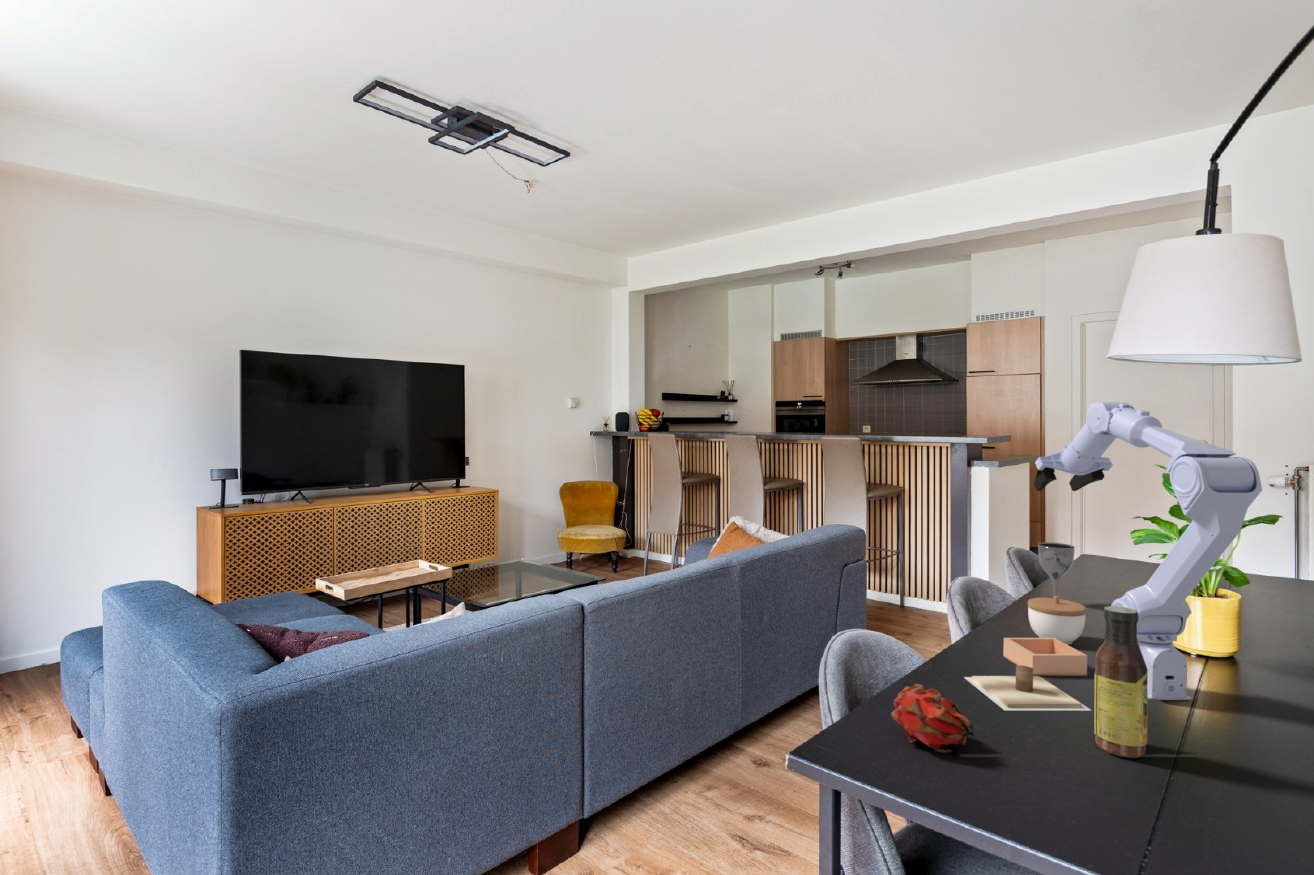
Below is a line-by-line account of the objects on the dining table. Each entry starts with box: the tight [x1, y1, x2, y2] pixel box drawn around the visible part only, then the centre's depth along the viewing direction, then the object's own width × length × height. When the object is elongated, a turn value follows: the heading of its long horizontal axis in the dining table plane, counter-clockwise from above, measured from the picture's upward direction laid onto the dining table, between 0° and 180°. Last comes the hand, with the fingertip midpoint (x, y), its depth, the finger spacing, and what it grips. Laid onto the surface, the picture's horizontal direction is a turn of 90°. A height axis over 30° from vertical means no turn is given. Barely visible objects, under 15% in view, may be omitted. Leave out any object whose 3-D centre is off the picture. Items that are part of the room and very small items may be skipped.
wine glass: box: [1037, 542, 1075, 598], centre depth 175 cm, size 8×8×15 cm
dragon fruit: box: [889, 683, 975, 753], centre depth 99 cm, size 8×8×12 cm
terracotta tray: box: [1002, 637, 1088, 677], centre depth 130 cm, size 10×10×4 cm
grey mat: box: [963, 676, 1092, 712], centre depth 116 cm, size 14×14×1 cm
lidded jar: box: [1027, 595, 1087, 646], centre depth 146 cm, size 11×11×9 cm
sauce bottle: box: [1093, 605, 1149, 759], centre depth 97 cm, size 7×6×20 cm
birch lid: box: [971, 665, 1082, 708], centre depth 116 cm, size 12×12×4 cm
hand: (1054, 487), depth 147 cm, fingers open, 7 cm apart
